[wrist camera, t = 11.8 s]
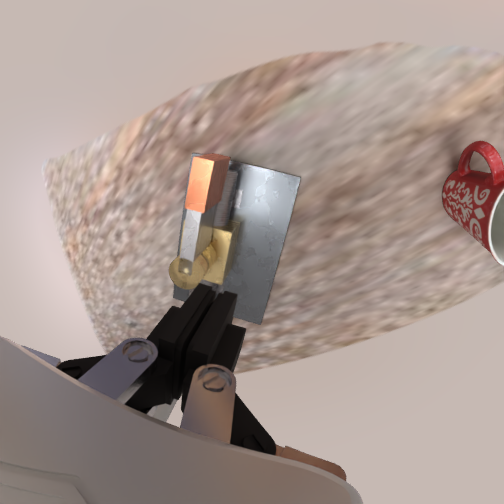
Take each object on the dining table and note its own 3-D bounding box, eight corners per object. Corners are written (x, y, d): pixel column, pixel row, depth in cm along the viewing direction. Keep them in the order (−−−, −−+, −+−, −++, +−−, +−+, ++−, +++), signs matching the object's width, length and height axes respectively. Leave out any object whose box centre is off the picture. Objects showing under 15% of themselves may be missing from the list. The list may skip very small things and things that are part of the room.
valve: (261, 322, 44) (255, 343, 39) (174, 296, 45) (160, 313, 41) (300, 177, 35) (299, 182, 31) (194, 152, 37) (177, 155, 32)
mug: (494, 213, 31) (550, 245, 19) (447, 238, 34) (495, 282, 22) (468, 128, 28) (529, 130, 16) (416, 151, 31) (467, 160, 19)
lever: (213, 271, 36) (197, 294, 31) (186, 262, 37) (167, 283, 31) (237, 158, 31) (222, 163, 26) (206, 151, 31) (185, 155, 26)
